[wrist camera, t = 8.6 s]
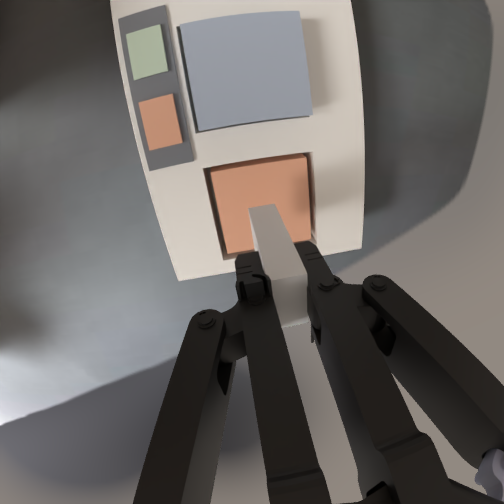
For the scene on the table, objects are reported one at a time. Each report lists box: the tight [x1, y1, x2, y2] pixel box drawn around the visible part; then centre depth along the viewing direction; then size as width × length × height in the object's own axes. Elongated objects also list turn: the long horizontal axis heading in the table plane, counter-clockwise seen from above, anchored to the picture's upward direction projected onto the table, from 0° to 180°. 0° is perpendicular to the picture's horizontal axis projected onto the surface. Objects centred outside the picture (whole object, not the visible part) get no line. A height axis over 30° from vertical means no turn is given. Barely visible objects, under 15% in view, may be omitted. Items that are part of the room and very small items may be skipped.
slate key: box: [180, 11, 313, 131], centre depth 14 cm, size 6×6×2 cm
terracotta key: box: [210, 153, 311, 254], centre depth 20 cm, size 6×6×2 cm
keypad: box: [110, 0, 365, 281], centre depth 16 cm, size 14×27×5 cm, turn 8°
